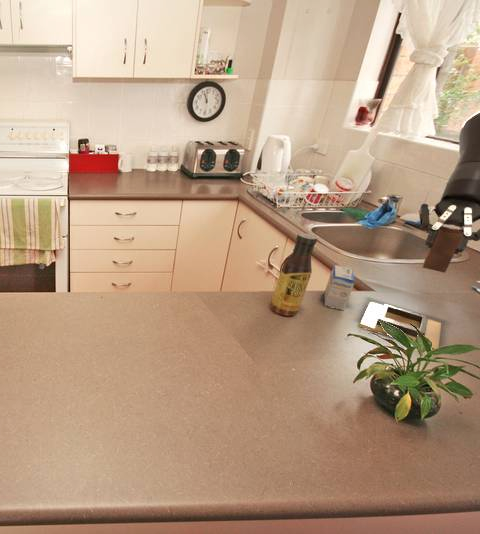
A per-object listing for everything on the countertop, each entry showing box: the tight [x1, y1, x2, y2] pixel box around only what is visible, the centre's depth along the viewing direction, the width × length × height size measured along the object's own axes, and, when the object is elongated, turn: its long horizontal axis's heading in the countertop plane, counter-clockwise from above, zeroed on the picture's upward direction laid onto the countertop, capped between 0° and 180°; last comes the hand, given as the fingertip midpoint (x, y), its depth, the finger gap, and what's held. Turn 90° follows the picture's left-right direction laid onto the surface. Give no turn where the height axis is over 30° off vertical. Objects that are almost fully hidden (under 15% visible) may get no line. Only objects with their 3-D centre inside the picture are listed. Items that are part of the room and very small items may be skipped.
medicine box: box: [323, 264, 356, 311], centre depth 98 cm, size 8×4×9 cm, turn 150°
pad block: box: [422, 226, 463, 274], centre depth 88 cm, size 4×5×9 cm
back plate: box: [358, 301, 442, 350], centre depth 90 cm, size 14×14×2 cm
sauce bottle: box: [270, 232, 318, 317], centre depth 91 cm, size 7×6×20 cm
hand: (443, 249), depth 86 cm, fingers closed on pad block, 4 cm apart
